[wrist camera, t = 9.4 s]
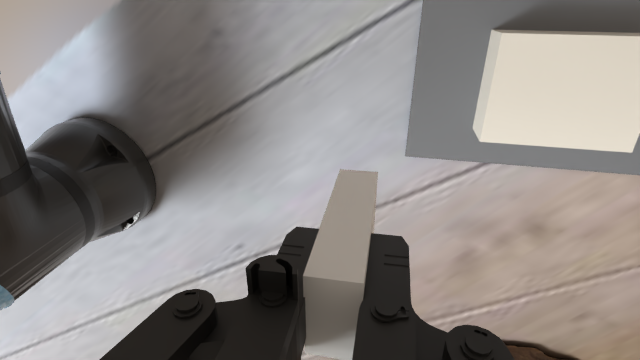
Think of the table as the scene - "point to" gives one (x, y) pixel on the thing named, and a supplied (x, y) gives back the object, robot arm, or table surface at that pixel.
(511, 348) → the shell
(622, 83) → the tall block
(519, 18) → the mat
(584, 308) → the table surface
